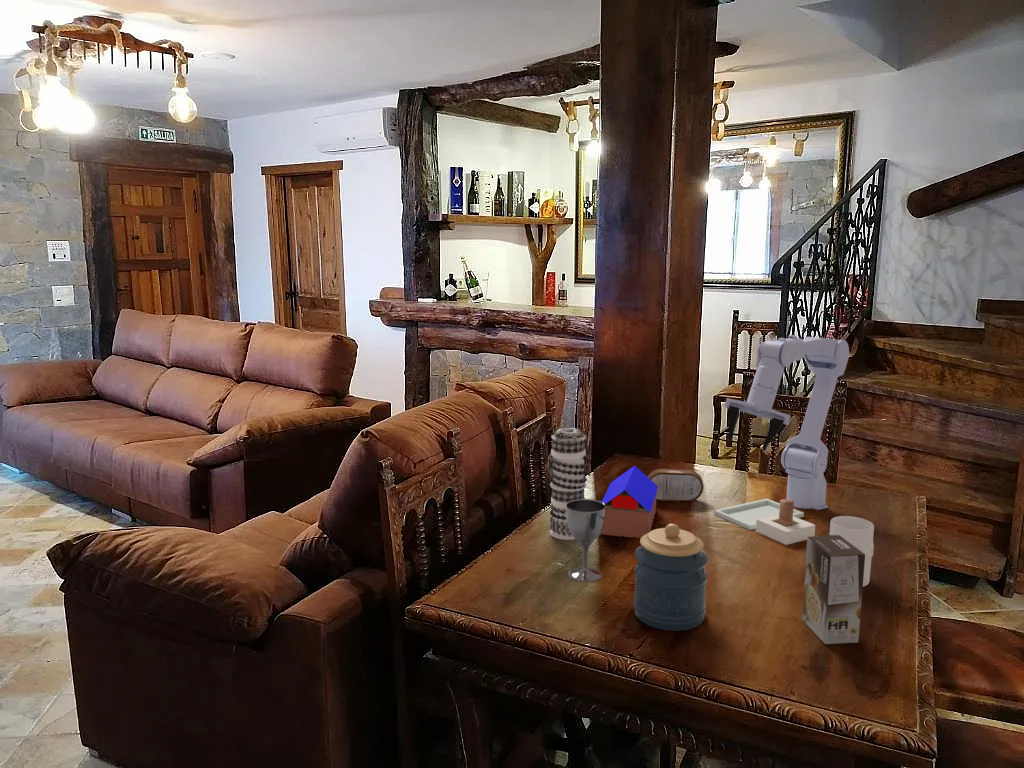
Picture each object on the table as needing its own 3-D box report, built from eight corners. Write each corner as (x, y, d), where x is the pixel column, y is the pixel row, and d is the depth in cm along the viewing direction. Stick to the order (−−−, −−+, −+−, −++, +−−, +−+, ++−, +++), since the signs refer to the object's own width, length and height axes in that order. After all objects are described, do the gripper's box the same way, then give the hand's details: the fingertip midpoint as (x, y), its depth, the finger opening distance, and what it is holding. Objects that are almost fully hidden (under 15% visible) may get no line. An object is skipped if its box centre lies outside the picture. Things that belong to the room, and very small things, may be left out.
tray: (766, 505, 197) (766, 498, 197) (803, 520, 187) (804, 512, 186) (713, 517, 189) (713, 510, 188) (749, 533, 178) (749, 525, 178)
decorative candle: (565, 522, 186) (566, 423, 181) (595, 533, 179) (596, 430, 175) (540, 533, 180) (540, 430, 175) (569, 543, 173) (570, 437, 169)
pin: (784, 531, 177) (786, 498, 176) (794, 535, 175) (796, 502, 173) (775, 533, 176) (777, 500, 174) (785, 537, 173) (787, 504, 172)
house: (657, 511, 194) (658, 467, 192) (649, 540, 175) (651, 492, 173) (610, 507, 198) (611, 463, 195) (598, 535, 179) (598, 487, 176)
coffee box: (860, 643, 130) (867, 554, 127) (824, 645, 129) (831, 556, 126) (833, 617, 139) (840, 534, 136) (799, 619, 138) (805, 535, 135)
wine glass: (607, 569, 160) (609, 501, 157) (599, 585, 152) (600, 513, 149) (571, 564, 162) (571, 497, 159) (561, 579, 155) (561, 509, 152)
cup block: (783, 528, 181) (784, 512, 181) (814, 541, 174) (815, 524, 173) (755, 535, 177) (756, 519, 177) (785, 549, 169) (786, 532, 169)
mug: (861, 564, 161) (866, 511, 159) (874, 589, 150) (879, 531, 147) (820, 561, 163) (824, 508, 161) (830, 585, 151) (834, 528, 149)
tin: (702, 499, 203) (703, 468, 201) (703, 503, 200) (705, 472, 198) (644, 497, 204) (645, 467, 203) (645, 501, 201) (646, 471, 199)
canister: (719, 626, 136) (723, 533, 132) (653, 637, 132) (656, 541, 129) (683, 595, 148) (686, 508, 145) (621, 604, 144) (623, 515, 141)
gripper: (731, 376, 174) (714, 432, 172) (796, 394, 169) (779, 451, 167) (733, 384, 181) (716, 438, 179) (795, 401, 175) (778, 456, 174)
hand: (746, 445), depth 173 cm, fingers open, 7 cm apart
